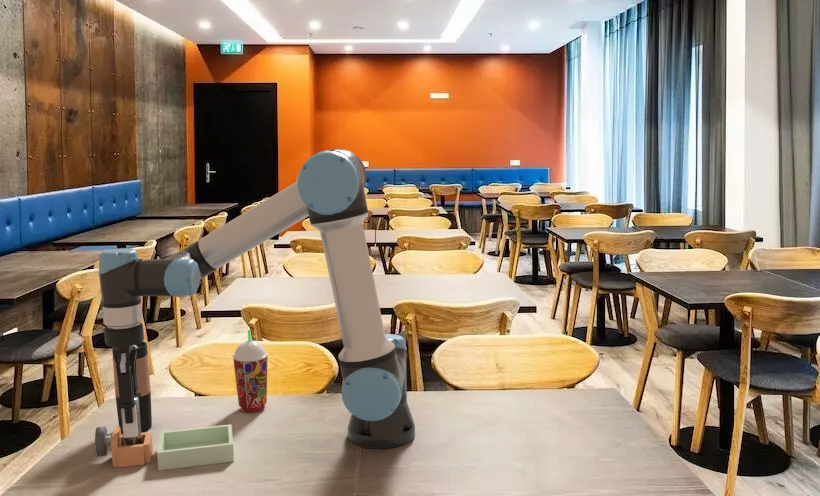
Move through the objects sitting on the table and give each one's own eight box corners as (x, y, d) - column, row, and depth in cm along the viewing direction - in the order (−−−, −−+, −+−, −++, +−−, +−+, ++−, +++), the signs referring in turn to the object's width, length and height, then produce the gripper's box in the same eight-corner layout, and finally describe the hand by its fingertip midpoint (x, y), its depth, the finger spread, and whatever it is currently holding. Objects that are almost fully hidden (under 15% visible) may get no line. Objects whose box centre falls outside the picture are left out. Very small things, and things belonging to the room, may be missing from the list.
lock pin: (143, 452, 163) (139, 394, 161) (142, 460, 159) (137, 400, 157) (125, 455, 162) (121, 396, 160) (124, 462, 158) (119, 402, 156)
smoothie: (266, 414, 184) (262, 334, 181) (232, 415, 184) (227, 335, 181) (272, 402, 192) (269, 325, 189) (240, 402, 192) (236, 325, 189)
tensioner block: (153, 449, 165) (150, 416, 164) (150, 463, 158) (148, 429, 157) (101, 455, 162) (98, 421, 161) (96, 470, 155) (93, 435, 154)
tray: (232, 440, 169) (231, 424, 168) (234, 461, 159) (233, 444, 158) (161, 448, 165) (160, 432, 165) (158, 470, 155) (157, 452, 154)
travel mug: (141, 436, 172) (135, 351, 169) (111, 433, 174) (104, 349, 170) (159, 423, 180) (153, 341, 176) (129, 421, 181) (123, 339, 178)
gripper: (108, 316, 163) (117, 420, 167) (98, 336, 147) (108, 450, 151) (145, 313, 165) (153, 416, 169) (139, 333, 149) (147, 446, 153)
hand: (132, 432), depth 160 cm, fingers closed on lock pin, 4 cm apart
